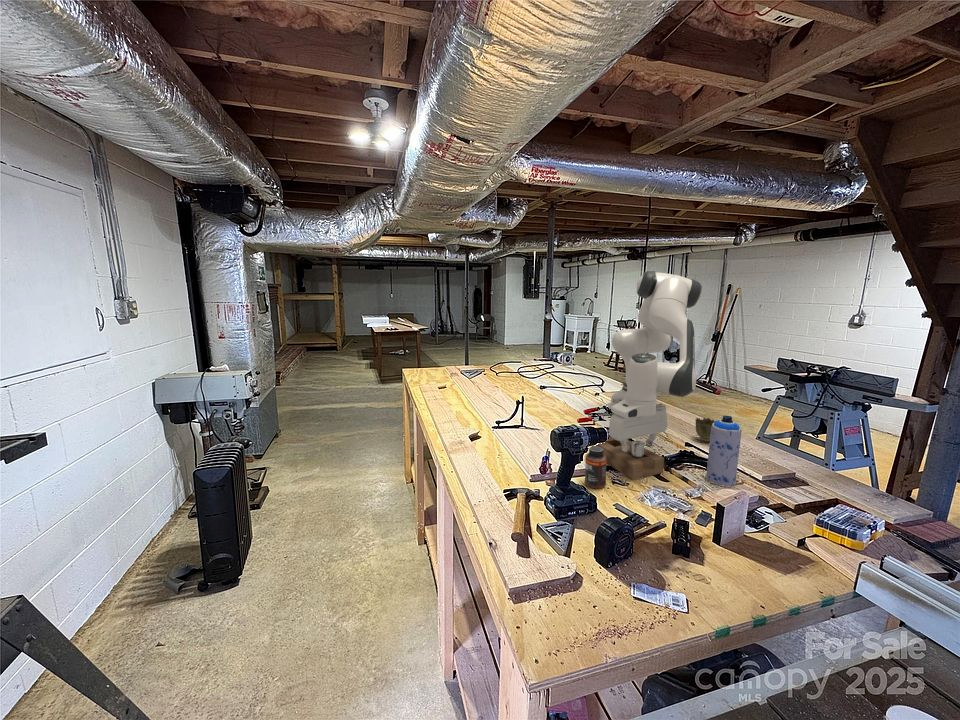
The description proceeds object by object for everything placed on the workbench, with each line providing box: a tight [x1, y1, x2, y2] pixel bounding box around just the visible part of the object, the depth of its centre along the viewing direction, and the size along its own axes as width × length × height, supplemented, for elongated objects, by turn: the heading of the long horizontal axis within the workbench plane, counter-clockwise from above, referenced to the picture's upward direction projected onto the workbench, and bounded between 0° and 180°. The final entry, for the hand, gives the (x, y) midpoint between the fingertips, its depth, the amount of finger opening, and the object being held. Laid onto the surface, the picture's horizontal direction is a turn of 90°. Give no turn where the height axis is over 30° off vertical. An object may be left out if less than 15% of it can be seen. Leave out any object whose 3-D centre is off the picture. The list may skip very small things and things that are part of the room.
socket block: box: [596, 436, 665, 481], centre depth 125 cm, size 20×12×5 cm, turn 21°
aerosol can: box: [705, 415, 743, 487], centre depth 112 cm, size 8×8×20 cm
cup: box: [695, 417, 717, 443], centre depth 142 cm, size 8×7×8 cm
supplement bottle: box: [584, 445, 607, 490], centre depth 111 cm, size 6×6×11 cm
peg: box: [631, 440, 645, 459], centre depth 120 cm, size 4×4×9 cm
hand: (637, 448), depth 120 cm, fingers open, 8 cm apart
